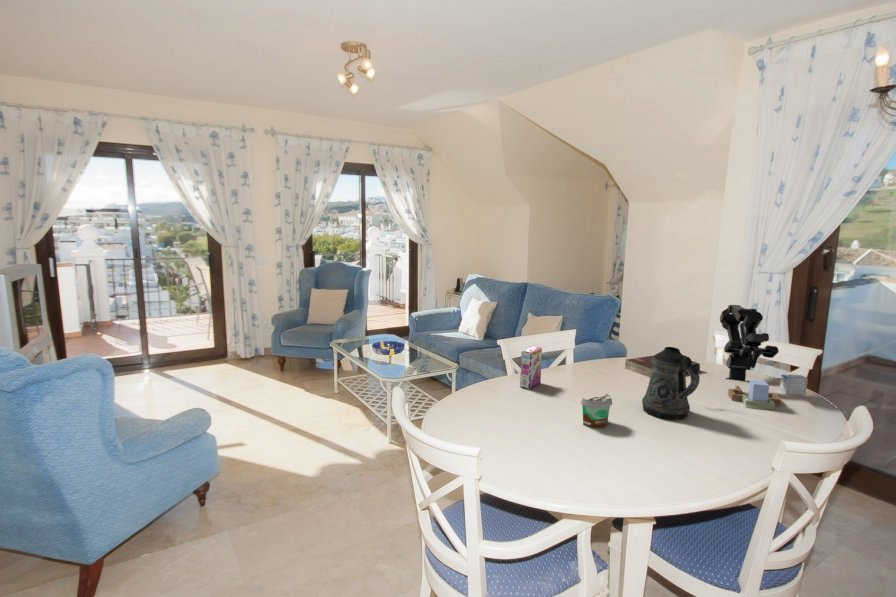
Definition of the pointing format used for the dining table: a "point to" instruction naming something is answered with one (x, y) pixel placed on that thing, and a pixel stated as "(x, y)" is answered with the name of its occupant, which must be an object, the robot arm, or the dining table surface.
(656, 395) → the beer stein
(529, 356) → the candy bar box
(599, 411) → the food container
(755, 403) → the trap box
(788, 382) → the medicine box
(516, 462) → the dining table surface
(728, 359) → the robot arm
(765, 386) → the block
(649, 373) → the hardback book
